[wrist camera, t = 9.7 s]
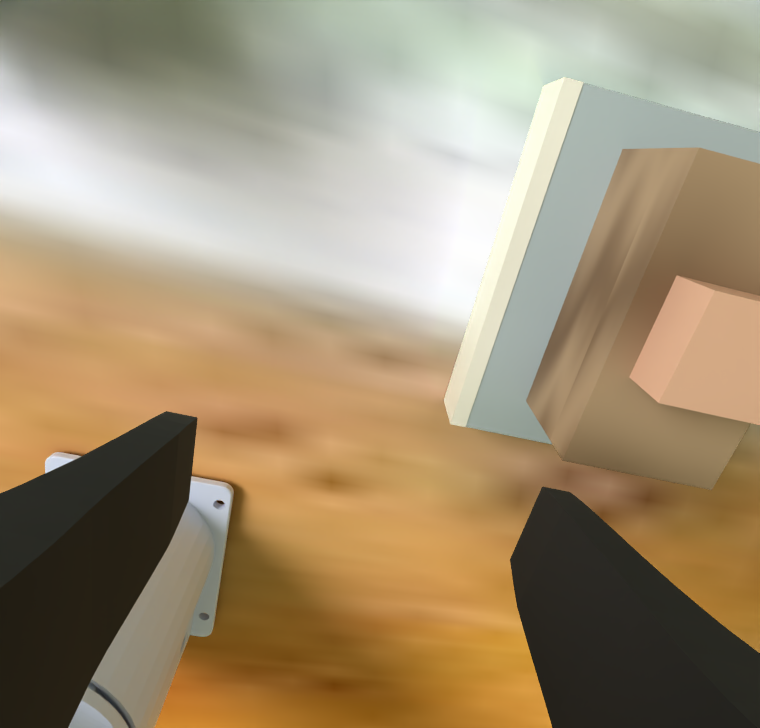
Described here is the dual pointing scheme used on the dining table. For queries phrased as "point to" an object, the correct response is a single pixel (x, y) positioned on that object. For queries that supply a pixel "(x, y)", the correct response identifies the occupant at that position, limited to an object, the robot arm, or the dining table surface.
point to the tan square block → (704, 351)
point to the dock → (557, 238)
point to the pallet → (647, 313)
